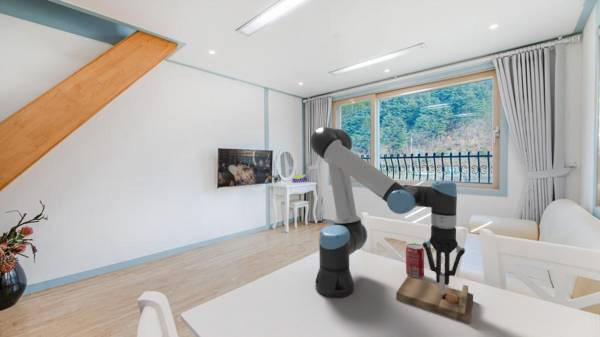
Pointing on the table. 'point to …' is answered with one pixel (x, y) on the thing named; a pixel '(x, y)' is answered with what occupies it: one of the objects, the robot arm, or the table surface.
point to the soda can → (415, 261)
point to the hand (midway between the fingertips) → (442, 292)
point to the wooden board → (436, 298)
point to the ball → (452, 298)
